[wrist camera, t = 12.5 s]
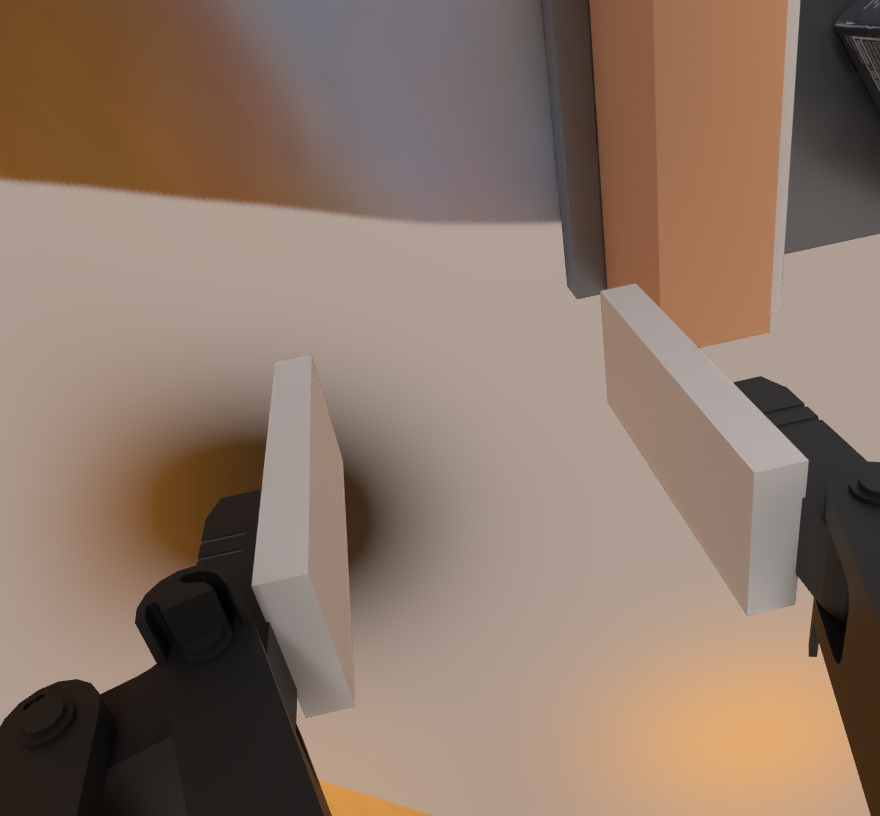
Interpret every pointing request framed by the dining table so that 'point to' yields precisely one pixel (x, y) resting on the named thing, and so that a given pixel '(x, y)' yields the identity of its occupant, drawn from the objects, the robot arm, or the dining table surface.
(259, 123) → the dining table surface
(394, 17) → the dining table surface
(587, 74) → the vise
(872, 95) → the small box
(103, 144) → the dining table surface
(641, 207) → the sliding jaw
